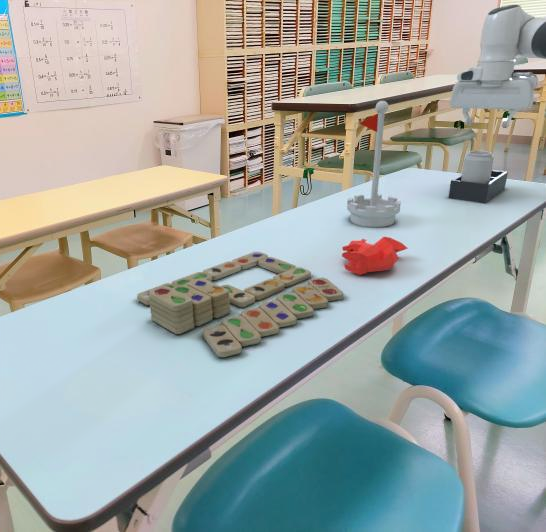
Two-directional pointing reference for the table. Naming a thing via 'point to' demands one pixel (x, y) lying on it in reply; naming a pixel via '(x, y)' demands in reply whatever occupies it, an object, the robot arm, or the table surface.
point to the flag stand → (374, 184)
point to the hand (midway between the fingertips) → (486, 125)
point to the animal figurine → (372, 255)
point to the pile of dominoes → (238, 302)
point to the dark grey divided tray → (478, 188)
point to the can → (477, 167)
